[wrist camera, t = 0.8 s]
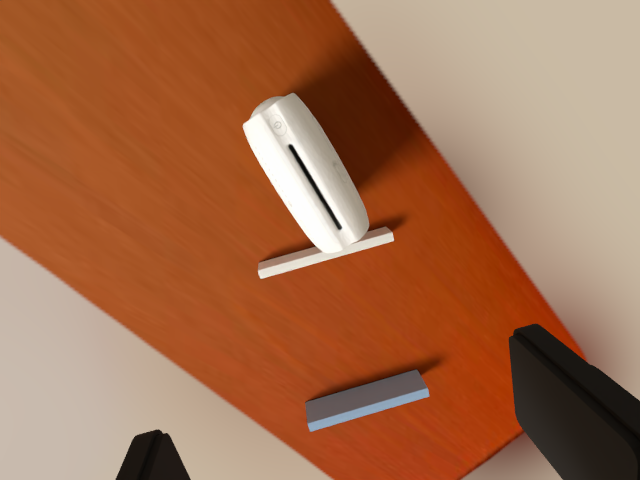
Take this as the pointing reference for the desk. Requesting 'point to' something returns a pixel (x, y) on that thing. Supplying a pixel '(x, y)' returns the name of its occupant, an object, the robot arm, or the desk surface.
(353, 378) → the desk surface
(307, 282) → the desk surface
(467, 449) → the desk surface
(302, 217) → the photo printer
